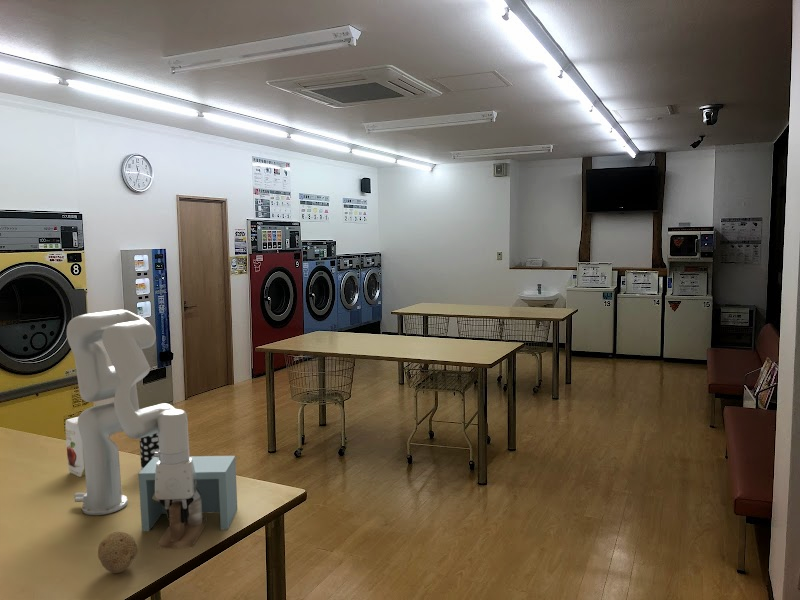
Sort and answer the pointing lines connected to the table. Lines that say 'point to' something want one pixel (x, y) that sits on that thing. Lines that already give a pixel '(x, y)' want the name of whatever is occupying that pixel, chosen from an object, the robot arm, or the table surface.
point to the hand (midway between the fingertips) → (178, 520)
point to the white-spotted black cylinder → (148, 448)
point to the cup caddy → (183, 526)
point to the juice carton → (74, 447)
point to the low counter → (211, 482)
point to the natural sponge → (117, 551)
